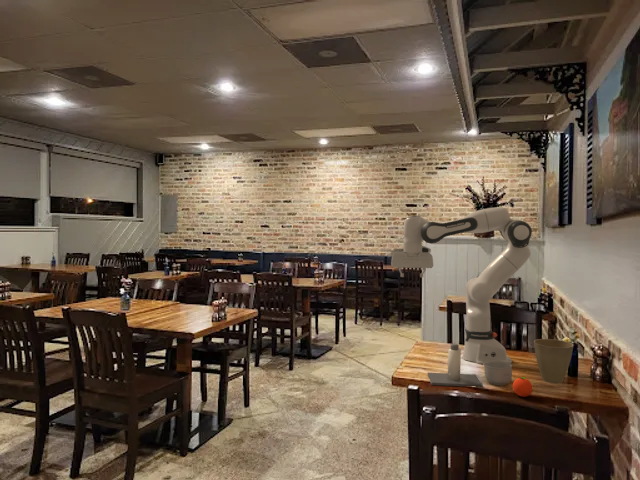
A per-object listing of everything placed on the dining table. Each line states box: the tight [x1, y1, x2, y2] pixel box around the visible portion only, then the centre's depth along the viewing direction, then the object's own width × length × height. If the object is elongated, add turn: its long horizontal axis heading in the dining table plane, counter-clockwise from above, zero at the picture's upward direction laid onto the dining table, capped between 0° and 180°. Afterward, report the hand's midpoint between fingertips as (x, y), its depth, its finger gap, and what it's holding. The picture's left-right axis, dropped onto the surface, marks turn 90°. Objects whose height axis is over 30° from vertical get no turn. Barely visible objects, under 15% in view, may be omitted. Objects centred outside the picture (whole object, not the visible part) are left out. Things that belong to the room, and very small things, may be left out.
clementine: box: [512, 376, 534, 398], centre depth 185 cm, size 8×7×7 cm
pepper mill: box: [447, 343, 462, 380], centre depth 202 cm, size 5×5×14 cm
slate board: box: [427, 371, 484, 388], centre depth 203 cm, size 20×14×1 cm
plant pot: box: [533, 338, 574, 384], centre depth 204 cm, size 15×15×16 cm
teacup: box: [483, 360, 513, 386], centre depth 202 cm, size 14×11×8 cm
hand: (411, 277), depth 240 cm, fingers open, 8 cm apart
